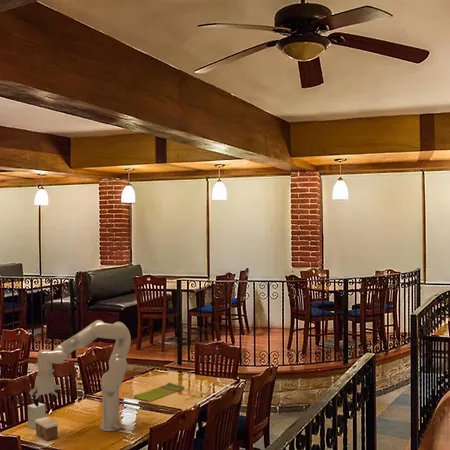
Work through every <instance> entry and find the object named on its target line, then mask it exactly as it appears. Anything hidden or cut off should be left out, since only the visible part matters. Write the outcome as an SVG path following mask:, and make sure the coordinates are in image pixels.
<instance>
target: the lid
mask: <svg viewBox="0 0 450 450" xmlns="http://www.w3.org/2000/svg"><path fill="white" fill-rule="evenodd" d="M35 423H37V424H39V425H41V426H43V427H45V428H46V429H47V428H50V427H54V426H57V427H58V426H59V424H60V423H59V422H57V421H55V420H54V419H52V418H50V417H48V416H46V417H44V418H40V419H36V420H35Z"/></svg>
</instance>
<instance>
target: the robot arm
mask: <svg viewBox="0 0 450 450" xmlns="http://www.w3.org/2000/svg"><path fill="white" fill-rule="evenodd" d="M98 338H99V339H104V340H105V339H108V340H115V343H114V347H113V350H112V352H111V354H110V358H109V359H108V366H109V368H108V371H106V372H104V374H103V375H102V376H101V381H100V384H101V385H100V386H101V403H102V404H101V407H102V409H101V411H102V424H101V425H100V426H99V428H100V430H101V431H104V432H115V431H118V430H120V429H122V428H123V426H124V425H123V423H122V422H121V419H120V415H121V414H120V388H121V387H122V383H123V381H124V378H125V375H126V371H127V369H128V362H127V356H128V354H129V351H130V348H131V344H132V343H131V341H132V339H131V333H130V330H129V328H128V327H127V326H126V324H124V323H123V322H121V321H116V322H113V323H107V322H104V321H103V320H101V319H97V320H95V321H93V322H92V323H90V324H89V325H87V326H86V327H84V328H83V329H82V330H80V331H79V332H77V333H76V334H74V335H72V336H71V337H69V338H68V339H66V340H64V341H63V342H61V343H60V344H59V345H57V346H56V347H54V349H53V350H50V349H41V350H39V351H37V375H36V377H35V382H34V388H32V389H31V390H30V391H29V395H30V396H31V397H32V398H33V400H34V403H33V404H35V406H39V403H40V402H39V401H40V400H39V397H40V396H42V395H48V394H51V402H52V403H56V401H57V394H58V392H59V391H60V389H61V385H58V384H56V383H55V377H54V373H53V372H55V369H54V368H53V364H54V365H55V364H57V365H58V364H59V365H60V364H62V363H63V364H64V363H65V362H66V360H67V356H68V355H69V354H71V353H72V352H74V351H75V350H78V349H80V348H84V347H86V346H89V344H91V343H92V342H93V341H95V340H96V339H98Z"/></svg>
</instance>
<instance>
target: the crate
mask: <svg viewBox="0 0 450 450" xmlns="http://www.w3.org/2000/svg"><path fill="white" fill-rule="evenodd" d="M58 430H59V429H58V426H54V427H50V428H47V429H46V428H45V427H43V426H41V425H39V424H37V423H36V429H35V431H36V432H35V435H36V436H38V437H39V438H41V439H43V440H45V441H47V442H49V441H53V440H56V439H58V438H59V434H58V432H59V431H58Z"/></svg>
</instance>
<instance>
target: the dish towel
mask: <svg viewBox="0 0 450 450" xmlns="http://www.w3.org/2000/svg"><path fill="white" fill-rule="evenodd" d="M182 390H185V386H184V385H180V384H177V383H173V382H171V381H170V382H167V383H166V384H164V385H161V386H159V387H156V388H152V389H149V390H147V391H145V392H142V393H137V394H133V399H134V400H138V401H141V402H146V403H151V402H153V401H156V400H158V399H161V398H165V397H166V396H169V395H172V394H176V393H179V392H180V391H182Z"/></svg>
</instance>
